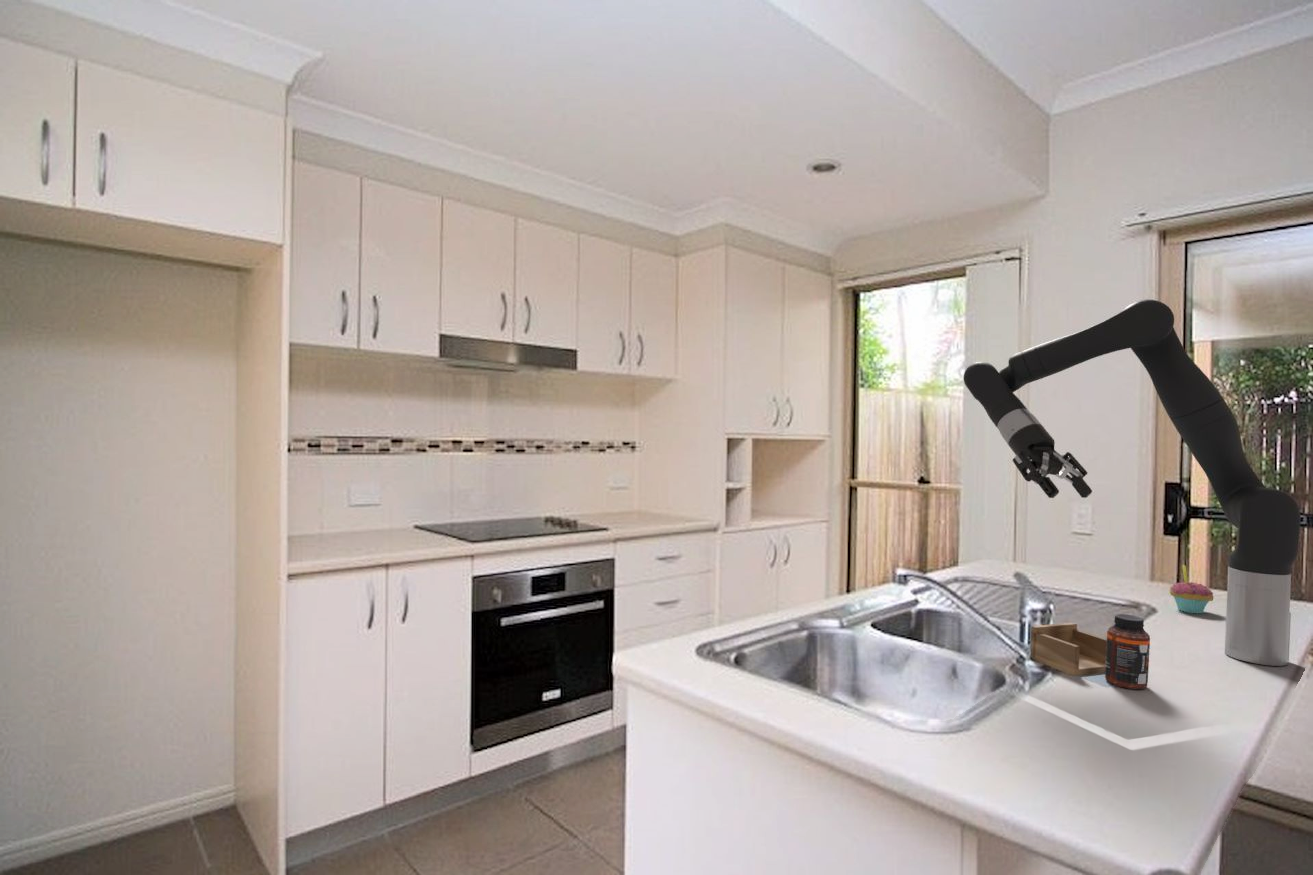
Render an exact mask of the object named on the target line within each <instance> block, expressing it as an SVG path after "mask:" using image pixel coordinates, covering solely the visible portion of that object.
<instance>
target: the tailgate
mask: <svg viewBox="0 0 1313 875" xmlns="http://www.w3.org/2000/svg"><path fill="white" fill-rule="evenodd" d="M1080 678H1082V679H1084V680H1086V681H1089V682H1091V683H1095V684H1097V685H1099V686H1102V687H1105V688H1107V689H1109V688H1116V687H1118V686H1116V685H1114V684H1112V683H1110V682H1108V681H1107V680H1106V678H1105V673H1104V674H1103V673H1102V674H1097V675H1095V674H1094V675H1090V676H1088V675H1087V676H1081V677H1080Z"/></svg>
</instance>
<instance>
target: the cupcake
mask: <svg viewBox="0 0 1313 875" xmlns="http://www.w3.org/2000/svg"><path fill="white" fill-rule="evenodd" d="M1181 567H1182V573H1183V575H1182V576H1183V582H1177V583H1174V584H1173V585H1172V586H1170V588H1169V595H1170V596H1172V597H1173V598H1174V600H1175V602H1176V607H1177V609H1178V610H1179V611H1180V610H1181V611H1180V612H1182V611H1184V612H1183V613H1187V614H1193V613H1197V614H1198V613H1202V614H1203V613H1204V610H1205V609H1206V606H1207V604H1208V603H1209V602H1212V601H1213V600H1214V593H1213V592H1212V590H1211V589H1209V588H1208V587H1207V586H1205V585H1204V584H1202V583H1197V582H1189V581H1188V574H1187V573H1188V572H1187V567H1186V565H1185V564H1184V561H1182V566H1181ZM1197 614H1196V615H1197ZM1198 615H1199V614H1198Z"/></svg>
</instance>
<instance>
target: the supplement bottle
mask: <svg viewBox="0 0 1313 875" xmlns="http://www.w3.org/2000/svg"><path fill="white" fill-rule="evenodd" d="M1113 622H1114V624H1113V625H1112V626H1110V627H1108V628H1107V632H1106V639H1107V644H1106V664H1105V672H1104V674H1105V678H1106V680H1107V681H1108V682H1110V683H1112V684H1114V685H1116V686H1117V687H1119V688H1123V689H1128V690H1129V689H1130V690H1136V691H1137V690H1140V691H1141V690H1144V689H1146V688H1147V687H1148V682H1149V665H1150V664H1149V663H1150V647H1151V646H1150V644H1151V637H1150V634H1149V633H1148V632H1147V631H1145V629H1144V627H1145V625H1144V623H1145V622H1144V618H1143V617H1139V616H1137V615H1133V614H1132V615H1131V614H1126V613H1125V614H1124V613H1116V614H1115V615H1114V621H1113Z"/></svg>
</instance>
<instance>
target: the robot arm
mask: <svg viewBox="0 0 1313 875" xmlns="http://www.w3.org/2000/svg"><path fill="white" fill-rule="evenodd" d="M1174 324H1175V316H1174V313H1173V311H1172V309H1171V308H1170V307H1169V306H1168V305H1167V304H1165V303H1164V302H1162V301H1159V300H1155V299H1142V300H1138V301H1135V302H1132V303H1130V304H1129V305H1127V306H1126V307H1125V308H1124V309H1123V310H1121V311H1120V312H1118V313H1116V314H1114V315H1113V316H1110V317H1109V318H1106V319H1105V320H1103V321H1101V322H1099V323H1097V324H1094V325H1092V326H1089V327H1087V328H1085V329H1082V330H1080V331H1077V332H1074V333H1071V334H1068V335H1064V336H1062V337H1061V336H1060V337H1058V338H1055V339H1053V340H1052V339H1051V340H1050V341H1046V342H1043V343H1041V344H1038V345H1035V346H1031V347H1030V348H1027V349H1025V350H1022V351H1019V352H1017V353H1015V354H1013V355H1011V356H1010V357H1009V358H1008V362H1007V363H1008V365H1007V366H1006V367H1004V368H1002V369H1000V370H998V369H997V368H996V367H995V366H994V365H992V364H991V363H989V362H986V361H976V362H973V363H971V364H970V365H968V366H967V368H966V369H965V370H964V374H963V382H964V385H965V387H966V389H968V391H969V392H970V394H971V396H972V397H973V398H974V399H975V400H976V401H978V403H980V404H981V406H982V407H983V409H984V410H985V412H986V414H987V416H988V417H989V419H990V420H991V421H992V424H994V426H995V428H997V430H998V431H999V433H1000V435H1001V437H1002V439H1003V440H1004V441H1005V443H1006V444H1007V445H1008V447H1009V448H1010V449H1011V450H1012V452H1013V453H1014V455H1015V456H1014V458H1012V462H1013V463H1014V465H1015V467H1016V468H1017V469H1018V471H1019V473H1020V474H1021V476H1022V478H1024V480H1025V481H1026V482H1031V481H1032V482H1034V484H1036V485H1038V486H1039V487H1040V488H1041V489H1042V491H1043V492H1044V494H1045V495H1046V496H1047V498H1050V499H1054V498H1055V497H1056V496H1058V494H1059V493H1060V490H1059V489H1058V487H1057V486H1056V484H1055V483H1054V481H1053V480H1051V478H1050V477H1049V476H1048V475H1053V476H1055V477H1057V478H1058V479H1064V480H1066V482H1067V481H1068V482H1069V483H1070V484H1071V485H1072V487H1073V489H1074V490H1075V491H1076V492H1077V493H1078V495H1079V496H1080V497H1081V498H1083V499H1087V498H1088V497H1089V496H1090V495H1091V494H1092V493H1093V490H1092V489H1091V487H1090V485H1089V484H1088V483H1087V482H1086V481H1085V480H1084V478H1085V477H1086V476H1087V475H1088V471H1087V470H1086V469H1085V468H1084V467H1083V466H1082V464H1081V463H1080V462H1079V461H1078V460H1077V459H1076V458H1075V456H1073V454H1072V453H1071V452H1069V451H1066V452H1065V453H1064V454H1060V453H1059V452H1057V450H1055V439H1054V438H1053V436H1052V435H1051V434H1050V433H1049V432H1048V431H1047V430H1046V429H1045V426H1043V425H1042V423H1041V422H1040V421H1039V420H1038V418H1037V417H1036V416H1035V415H1034V414H1033V413H1032V412H1030V410H1028V408H1027V406H1025V405H1024V402H1022V401H1021V400H1020V398H1019V397H1018V396H1017V395H1016V394H1015V392H1016V391H1018V390H1020V389H1021V388H1023V387H1024V386H1025V385H1027V384H1030V383H1032V382H1036V381H1039V380H1042V379H1044V378H1047V377H1049V376H1053V375H1055V374H1058V373H1060V372H1062V371H1066V370H1067V369H1069V368H1073V367H1074V366H1077V365H1079V364H1082V363H1084V362H1087V361H1090V360H1092V359H1096V358H1097V357H1098V358H1099V357H1101V356H1105V355H1107V354H1110V353H1114V352H1119V351H1122V350H1127V349H1131V351H1132V352H1133V353H1134V355H1135V356H1136V357H1137V358H1138V360H1139V361H1140V363H1141V364H1142V366H1143V367H1144V368H1145V370H1146V371H1147V373H1148V375H1149V377H1150V379H1151V382H1152V384H1153V386H1154V389H1155V391H1156V394H1157V396H1158V399H1159V400H1160V402H1161V404H1162V406H1163V408H1164V410H1165V411H1166V414H1167V416H1168V417H1169V419H1170V421H1171V423H1172V424H1173V426H1174V428H1175V429H1176V431H1177V432H1178V434H1179V435H1180V437H1181V439H1183V442H1184V443H1185V445H1186V446H1187V448H1188V450H1189V451H1190V452H1191V454H1192V455H1193V457H1194V459H1195V460H1196V462H1197V463H1198V465H1199V466H1200V467H1201V469H1202V471H1203V472H1204V473H1205V475H1206V477H1207V479H1208V481H1209V483H1210V485H1211V488H1212V490H1213V492H1214V494H1215V496H1216V499H1217V500H1218V502H1219V505H1220V508H1221V510H1222V512H1223V514H1224V516H1225V518H1226V519H1227V521H1228V522H1230V523H1231V524H1232V525H1233V526H1234V527H1235V528H1237V529H1238V538H1237V539H1238V540H1237V545H1236V546H1235V549H1234V550H1232V551H1231V552H1229V554H1228V564H1227V588H1226V589H1227V590H1226V592H1227V593H1226V609H1225V610H1226V612H1225V614H1226V615H1225V632H1224V633H1225V635H1224V654H1225V655H1227V656H1228V657H1231V658H1234V659H1236V660H1239V661H1243V662H1248V663H1252V664H1257V665H1263V666H1273V667H1279V666H1280V667H1283V666H1286V665H1288V662H1289V661H1290V644H1291V643H1290V641H1291V620H1292V617H1291V616H1292V613H1291V611H1290V607H1291V589H1292V588H1291V587H1292V586H1291V585H1292V581H1291V580H1292V569H1293V568H1292V567H1293V564H1294V562H1296V559H1297V557H1298V552H1299V543H1300V534H1301V533H1300V532H1301V509H1300V507H1299V504H1298V503H1297V501H1296V500H1295V498H1294V497H1292V496H1291V495H1290V494H1289V493H1287V492H1284V491H1283V490H1279V489H1275V488H1269V487H1266V486H1265V484H1264V483H1263V482H1262V480H1261V479H1260V478H1259V476H1258V475H1257V474H1256V472H1255V471H1254V469H1253V468H1252V466H1251V464H1250V463H1249V462H1248V459H1247V457H1246V455H1245V452H1244V449H1243V443H1242V438H1241V433H1240V428H1239V425H1238V422H1237V419H1236V418H1235V415H1234V414H1233V412H1232V410H1231V408H1230V407H1229V404H1228V403H1227V402H1226V400H1225V399H1224V397H1223V395H1222V394H1221V392H1219V390H1218V389H1217V387H1216V386H1215V384H1214V383H1213V382H1212V381H1211V379H1210V378H1209V377H1208V375H1206V374H1205V372H1203V370H1202V369H1200V367H1199V366H1198V365H1197V364H1196V363H1195V362H1194V361H1193V359H1192V358H1191V357H1190V355H1189V354H1188V353H1187V352H1186V349H1185V348H1184V346H1183V344H1182V343H1181V340H1180V338H1179V335H1178V334H1177V332H1176V329H1175V327H1174ZM1063 468H1064V469H1063ZM1062 470H1063V471H1062ZM1028 471H1029V472H1028ZM1068 473H1069V474H1068Z"/></svg>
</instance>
